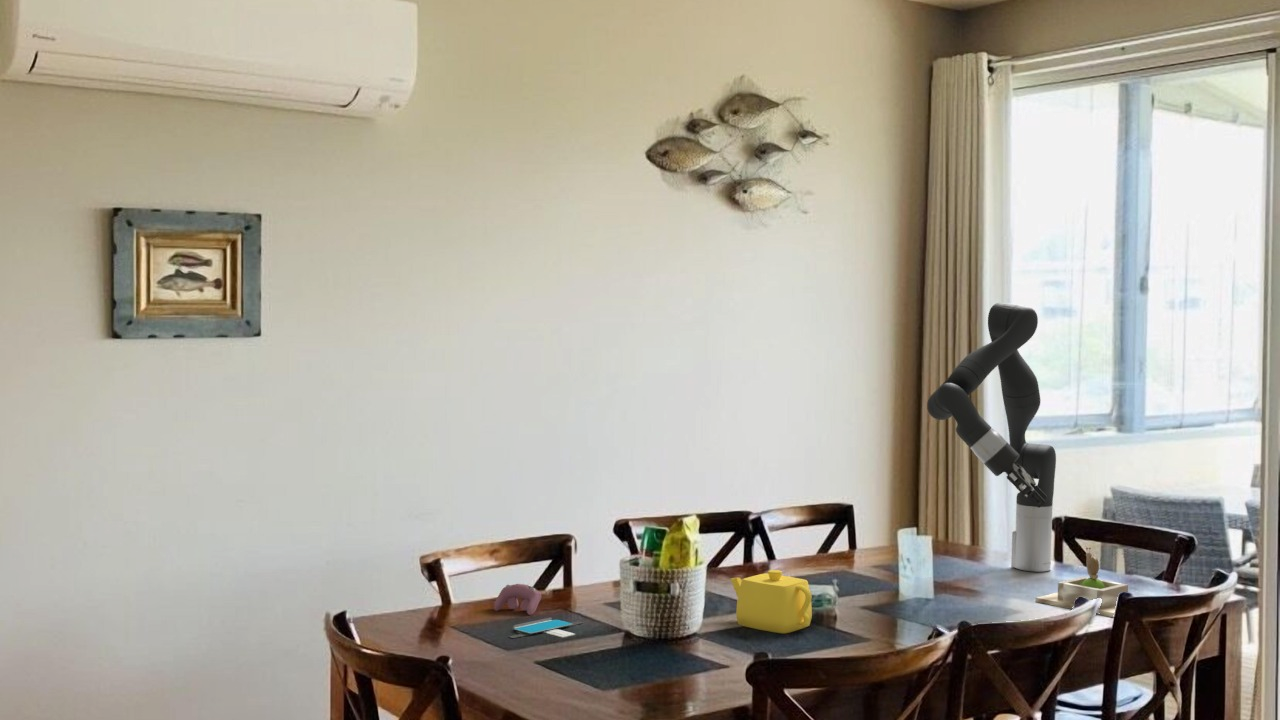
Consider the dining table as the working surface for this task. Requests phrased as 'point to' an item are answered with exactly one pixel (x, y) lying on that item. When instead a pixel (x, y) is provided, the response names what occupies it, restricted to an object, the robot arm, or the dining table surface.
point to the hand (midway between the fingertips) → (1043, 502)
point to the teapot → (773, 602)
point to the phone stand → (543, 627)
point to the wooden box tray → (1085, 594)
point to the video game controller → (518, 591)
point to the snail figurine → (1092, 572)
